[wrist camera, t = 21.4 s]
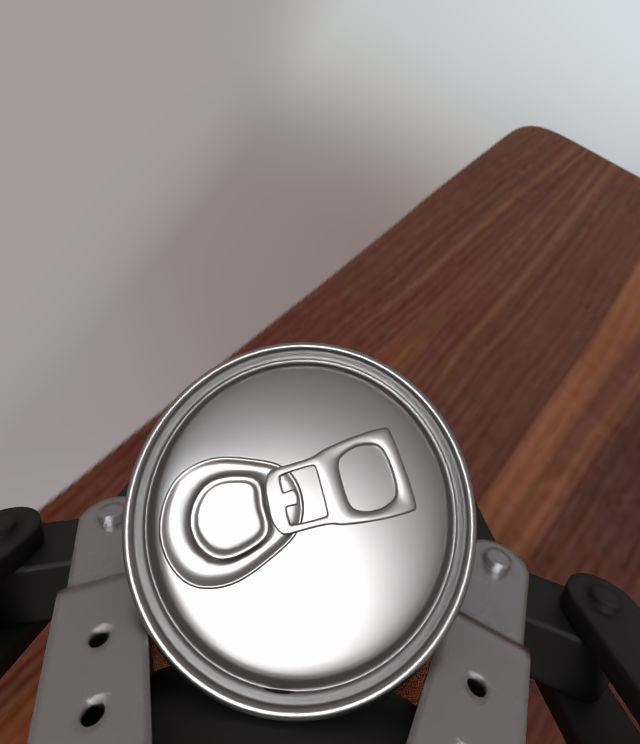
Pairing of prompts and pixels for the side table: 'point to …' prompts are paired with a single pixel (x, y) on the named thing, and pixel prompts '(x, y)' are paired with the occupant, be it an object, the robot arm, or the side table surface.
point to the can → (299, 531)
